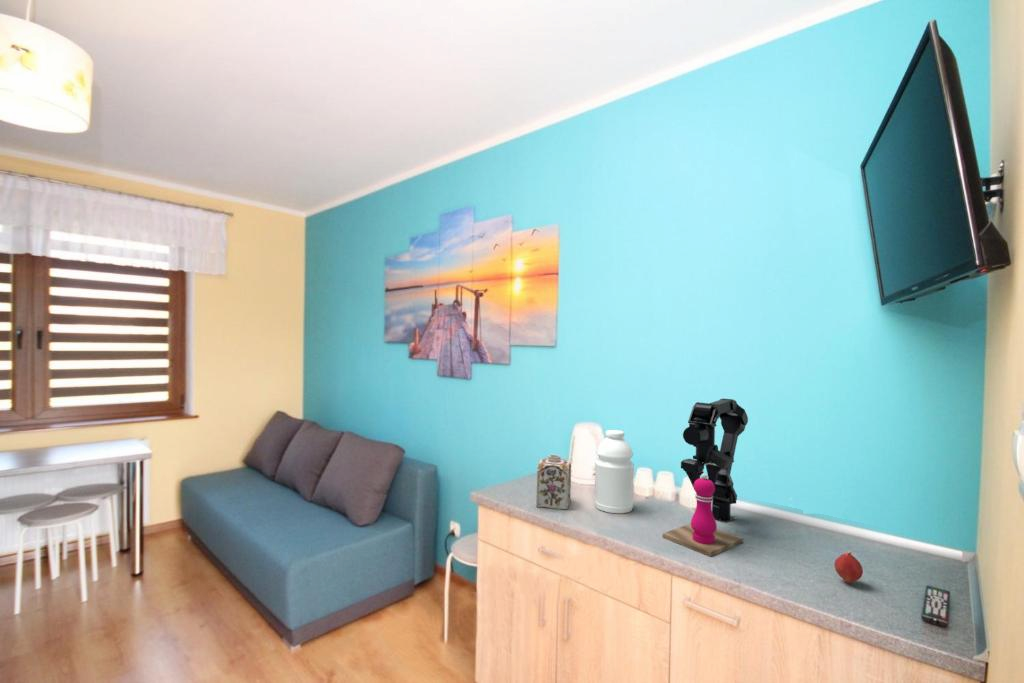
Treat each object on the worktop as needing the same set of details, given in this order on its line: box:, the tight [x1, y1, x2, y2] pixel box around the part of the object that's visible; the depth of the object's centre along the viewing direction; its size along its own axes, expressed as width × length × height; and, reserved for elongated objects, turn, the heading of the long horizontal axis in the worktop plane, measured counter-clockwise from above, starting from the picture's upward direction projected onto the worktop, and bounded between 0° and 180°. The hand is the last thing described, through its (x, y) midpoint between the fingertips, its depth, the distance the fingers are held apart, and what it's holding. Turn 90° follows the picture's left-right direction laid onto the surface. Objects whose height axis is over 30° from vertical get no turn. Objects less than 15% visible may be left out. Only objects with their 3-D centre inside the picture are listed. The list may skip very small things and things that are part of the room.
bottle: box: [594, 429, 635, 514], centre depth 170 cm, size 14×14×28 cm
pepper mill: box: [690, 472, 718, 544], centre depth 139 cm, size 7×7×20 cm
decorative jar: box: [536, 454, 572, 510], centre depth 173 cm, size 12×12×18 cm
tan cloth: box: [662, 523, 744, 558], centre depth 143 cm, size 18×16×1 cm
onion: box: [834, 551, 864, 584], centre depth 118 cm, size 6×6×8 cm
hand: (704, 488), depth 152 cm, fingers open, 9 cm apart
